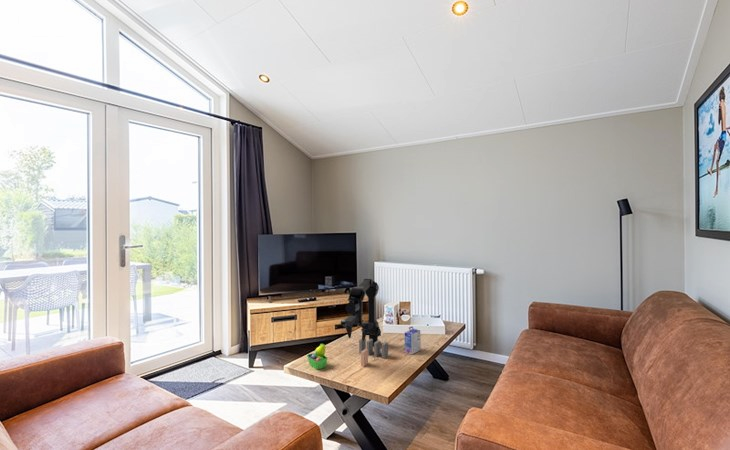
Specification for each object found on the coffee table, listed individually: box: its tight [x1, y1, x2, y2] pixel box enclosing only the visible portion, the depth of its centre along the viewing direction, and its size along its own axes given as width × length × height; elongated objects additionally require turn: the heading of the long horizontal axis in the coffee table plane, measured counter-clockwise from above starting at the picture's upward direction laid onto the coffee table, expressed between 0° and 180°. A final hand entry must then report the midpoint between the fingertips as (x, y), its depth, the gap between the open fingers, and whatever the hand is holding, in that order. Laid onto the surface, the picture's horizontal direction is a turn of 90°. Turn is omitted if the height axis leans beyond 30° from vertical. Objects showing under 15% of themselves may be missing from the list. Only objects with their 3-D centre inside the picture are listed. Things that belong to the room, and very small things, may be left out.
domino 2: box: [360, 348, 369, 368], centre depth 186 cm, size 5×2×8 cm, turn 150°
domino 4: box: [373, 339, 381, 358], centre depth 199 cm, size 5×2×8 cm, turn 150°
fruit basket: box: [306, 343, 328, 371], centre depth 186 cm, size 11×9×11 cm
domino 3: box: [366, 339, 374, 356], centre depth 202 cm, size 5×2×8 cm, turn 150°
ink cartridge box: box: [404, 326, 422, 355], centre depth 205 cm, size 10×6×14 cm, turn 137°
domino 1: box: [358, 337, 367, 355], centre depth 204 cm, size 5×2×8 cm, turn 150°
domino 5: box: [381, 341, 389, 360], centre depth 197 cm, size 5×2×8 cm, turn 150°
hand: (356, 339), depth 187 cm, fingers open, 9 cm apart
